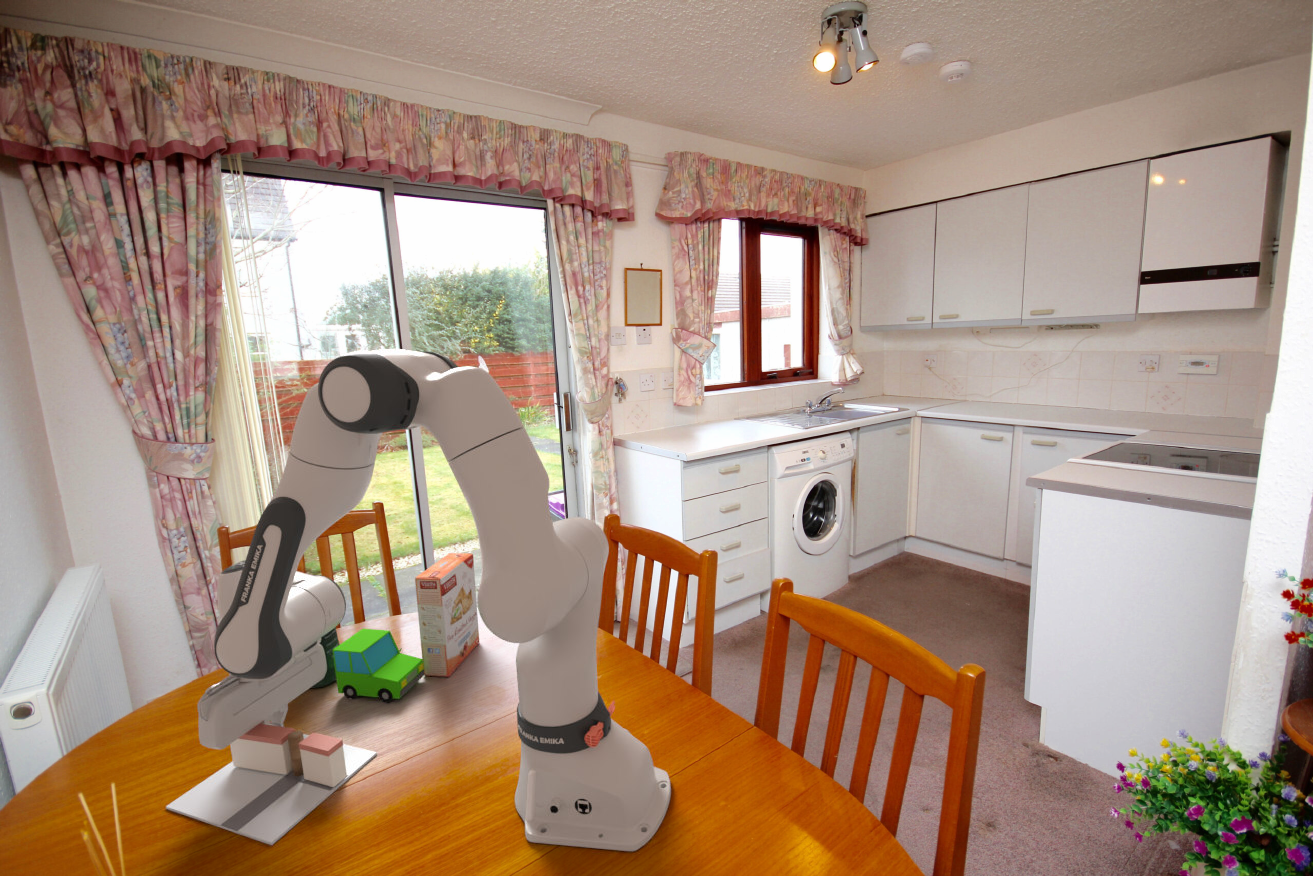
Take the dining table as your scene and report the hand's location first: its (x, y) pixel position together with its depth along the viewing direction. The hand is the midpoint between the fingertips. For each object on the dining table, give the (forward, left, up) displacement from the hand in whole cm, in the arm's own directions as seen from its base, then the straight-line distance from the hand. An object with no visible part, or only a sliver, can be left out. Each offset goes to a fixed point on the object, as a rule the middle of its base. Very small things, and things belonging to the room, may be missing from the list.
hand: (274, 735), depth 95 cm
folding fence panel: (-2, +3, -2) cm, 4 cm away
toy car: (-3, -19, -4) cm, 20 cm away
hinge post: (-8, +3, -3) cm, 9 cm away
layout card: (-6, +5, -3) cm, 8 cm away
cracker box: (-9, -32, -3) cm, 34 cm away
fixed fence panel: (-13, +3, -3) cm, 14 cm away
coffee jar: (+13, -18, -3) cm, 23 cm away
